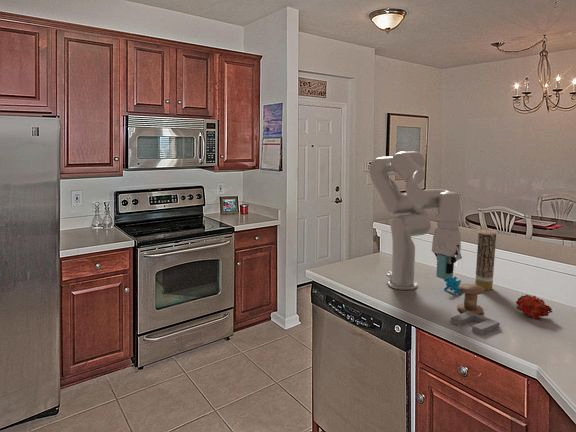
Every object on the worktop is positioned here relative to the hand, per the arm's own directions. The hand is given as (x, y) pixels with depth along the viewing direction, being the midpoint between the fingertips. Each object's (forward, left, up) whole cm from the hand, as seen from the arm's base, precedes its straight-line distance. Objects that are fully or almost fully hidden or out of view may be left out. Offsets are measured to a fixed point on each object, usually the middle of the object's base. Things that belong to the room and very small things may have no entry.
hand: (445, 271), depth 168 cm
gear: (-8, +16, -14) cm, 23 cm away
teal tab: (0, 0, -2) cm, 2 cm away
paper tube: (-4, +30, -14) cm, 34 cm away
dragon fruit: (+25, +18, -14) cm, 34 cm away
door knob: (+9, +4, -14) cm, 17 cm away
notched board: (+17, -6, -14) cm, 23 cm away
